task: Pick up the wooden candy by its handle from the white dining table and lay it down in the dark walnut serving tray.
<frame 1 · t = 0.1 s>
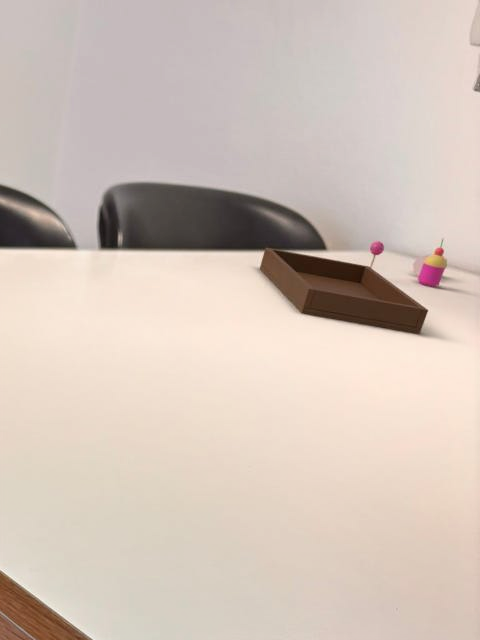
candy: (411, 280, 147), on the table
tray: (334, 299, 125), on the table
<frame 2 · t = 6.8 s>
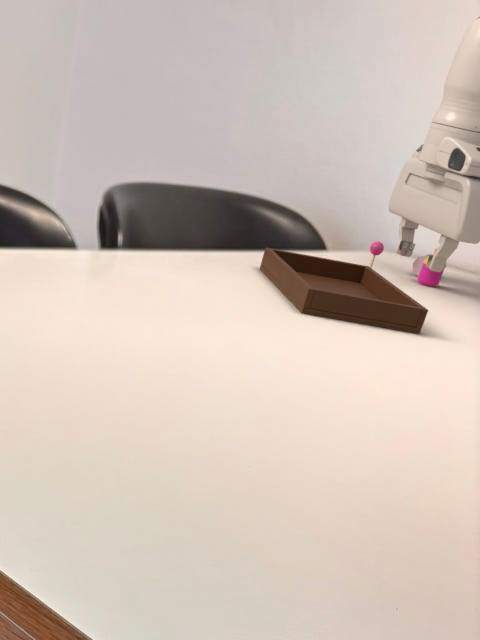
hand: (417, 262, 145), 2 cm above the table, tool pointing down, fingers closed on candy, 7 cm apart
candy: (411, 280, 147), on the table, touching gripper
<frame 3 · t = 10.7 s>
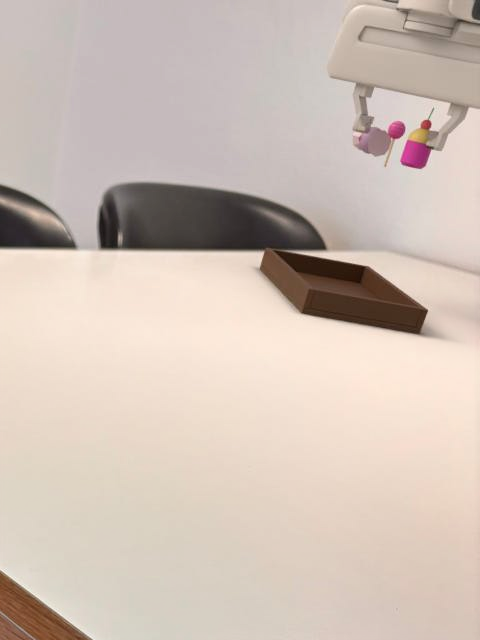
hand: (396, 141, 119), 17 cm above the table, tool pointing down, fingers closed on candy, 7 cm apart
candy: (386, 163, 120), point 15 cm above the table, touching gripper
when the fingers open (3 cm above the table, at t = 14.9 s): candy stays where it is, resting on tray.
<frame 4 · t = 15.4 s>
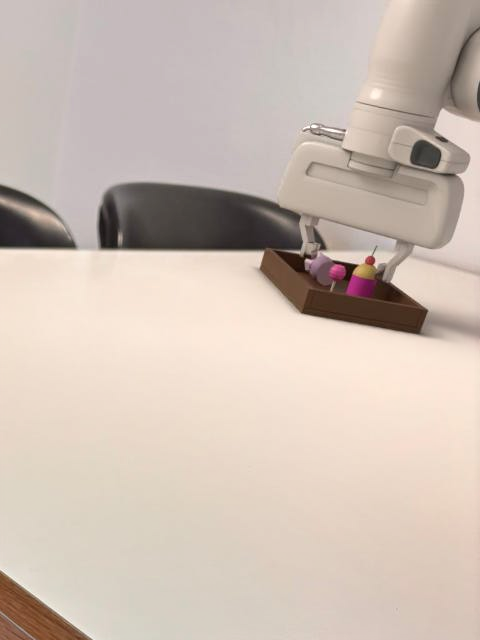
hand: (344, 269, 123), 3 cm above the table, tool pointing down, fingers open, 8 cm apart
candy: (333, 294, 125), resting on tray
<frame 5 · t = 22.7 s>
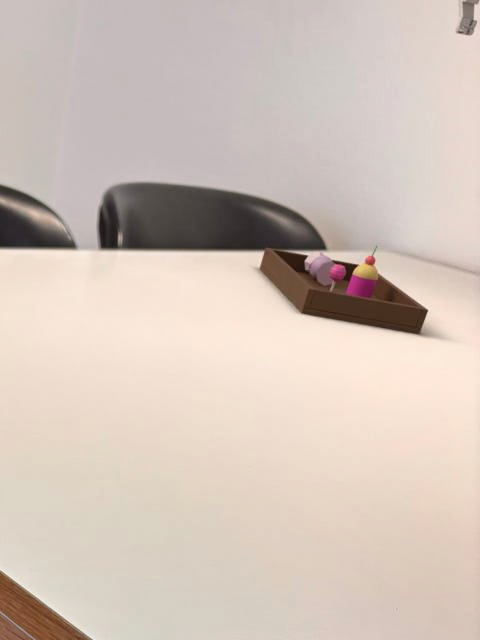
nothing on the table moved.
at the end: candy inside the target area in the tray (0.3 cm from its centre), point 0.4 cm above the tray's base; the gripper is holding nothing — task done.
